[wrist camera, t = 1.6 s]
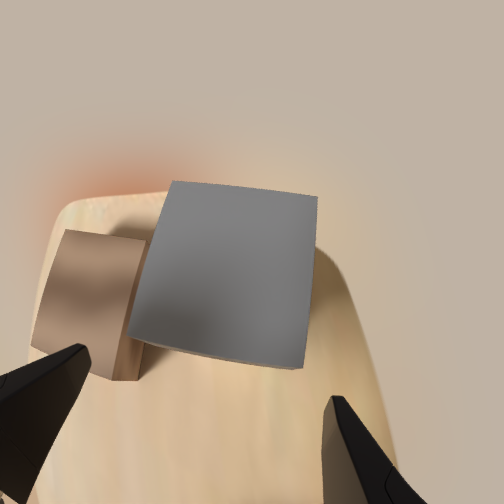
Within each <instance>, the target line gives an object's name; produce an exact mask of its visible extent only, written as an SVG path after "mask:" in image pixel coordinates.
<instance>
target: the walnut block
mask: <svg viewBox="0 0 504 504" xmlns="http://www.w3.org/2000/svg"><path fill="white" fill-rule="evenodd" d="M149 248H150V245H149V244H148V242H147V241H146V240H139V239H132V238H125V237H118V236H110V235H103V234H96V233H89V232H82V231H75V230H68V229H66V230H65V232H64V235H63V237H62V240H61V242H60V245H59V247H58V250H57V253H56V256H55V258H54V261H53V264H52V267H51V270H50V273H49V276H48V279H47V283H46V286H45V289H44V293H43V296H42V300H41V303H40V307H39V311H38V315H37V319H36V323H35V327H34V332H33V336H32V341H31V346H32V347H34V348H36V349H38V350H40V351H42V352H44V353H46V354H48V355H51V354H53V353H55V352H57V351H60V350H62V349H64V348H67V347H69V346H71V345H74V344H76V343H80V344H83V345H86V346H87V348H88V350H89V354H90V357H91V360H92V365H91V368H90V370H89V372H90V373H93V374H95V375H98V376H100V377H103V378H106V379H109V380H112V381H138V375H139V370H140V364H141V359H142V354H143V349H144V344H145V342H143V341H140V340H137V339H134V338H132V337H129V336H126V334H127V330H128V325H129V321H130V317H131V313H132V309H133V305H134V301H135V297H136V293H137V289H138V285H139V282H140V278H141V275H142V271H143V268H144V264H145V261H146V257H147V254H148V251H149Z"/></svg>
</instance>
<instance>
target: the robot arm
mask: <svg viewBox="0 0 504 504" xmlns="http://www.w3.org/2000/svg"><path fill="white" fill-rule="evenodd" d="M91 365H92V360H91V357H90V354H89V350H88V348H87V346H86V345H83V344H80V343H76V344H74V345H71V346H69V347H67V348H64V349H62V350H60V351H57V352H55V353H53V354H51V355H48V356H46V357H44V358H41V359H39V360H37V361H34V362H32V363H30V364H27V365H25V366H23V367H20V368H18V369H16V370H13V371H11V372H9V373H6V374H4V375H1V376H0V504H4V501H3V499H2V498H1V497H2V495H3V493H5V494H6V495H7V496H9V497H10V498H11V499H13V500H14V501H15V502H17V503H18V504H26V503H27V500H28V497H29V495H30V493H31V491H32V488H33V486H34V484H35V481H36V479H37V477H38V475H39V473H40V470H41V468H42V466H43V464H44V461H45V459H46V457H47V455H48V453H49V451H50V449H51V447H52V445H53V443H54V441H55V439H56V437H57V435H58V433H59V431H60V429H61V427H62V425H63V423H64V422H65V420H66V418H67V416H68V414H69V412H70V410H71V409H72V407H73V405H74V403H75V401H76V399H77V398H78V396H79V393H80V391H81V389H82V386H83V384H84V382H85V379H86V377H87V375H88V373H89V370H90V368H91ZM321 455H322V475H323V499H324V504H427V503H426V502H425V501H424V500H423V499H422V498H421V497H420V496H419V495H418V494H417V493H416V492H415V491H414V490H413V489H412V488H411V487H410V485H409V484H408V483H407V482H406V481H405V480H404V478H403V477H402V476H401V474H400V473H399V472H398V471H397V469H396V468H395V466H393V464H392V463H391V461H390V460H389V458H388V457H387V456H386V454H385V453H384V452H383V450H382V449H381V448H380V446H379V445H378V443H377V442H376V441H375V439H374V438H373V437H372V435H371V434H370V432H369V431H368V430H367V428H366V427H365V426H364V424H363V423H362V421H361V420H360V419H359V417H358V416H357V415H356V413H355V412H354V410H353V409H352V408H351V406H350V405H349V403H348V402H347V401H346V399H345V398H344V397H343V396H335V395H333V396H331V397H330V399H329V401H328V403H327V406H326V408H325V410H324V416H323V434H322V450H321Z"/></svg>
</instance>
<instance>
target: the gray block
mask: <svg viewBox="0 0 504 504" xmlns="http://www.w3.org/2000/svg"><path fill="white" fill-rule="evenodd" d="M317 199H318V197H316V196H309V195H302V194H295V193H288V192H280V191H272V190H265V189H256V188H247V187H238V186H229V185H219V184H207V183H195V182H183V181H172V183H171V186H170V189H169V191H168V194H167V197H166V199H165V202H164V205H163V208H162V211H161V214H160V217H159V220H158V223H157V226H156V229H155V232H154V235H153V238H152V241H151V244H150V248H149V251H148V254H147V257H146V261H145V264H144V268H143V271H142V275H141V278H140V282H139V285H138V289H137V293H136V297H135V301H134V305H133V309H132V313H131V317H130V321H129V325H128V330H127V334H126V336H129V337H132V338H134V339H137V340H140V341H143V342H146V343H148V344H151V345H154V346H158V347H162V348H166V349H170V350H175V351H179V352H184V353H189V354H193V355H198V356H203V357H208V358H214V359H219V360H225V361H231V362H237V363H243V364H249V365H256V366H263V367H271V368H279V369H288V370H294V369H301V368H303V365H304V357H305V349H306V341H307V332H308V323H309V313H310V303H311V293H312V281H313V269H314V255H315V240H316V222H317Z"/></svg>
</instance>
